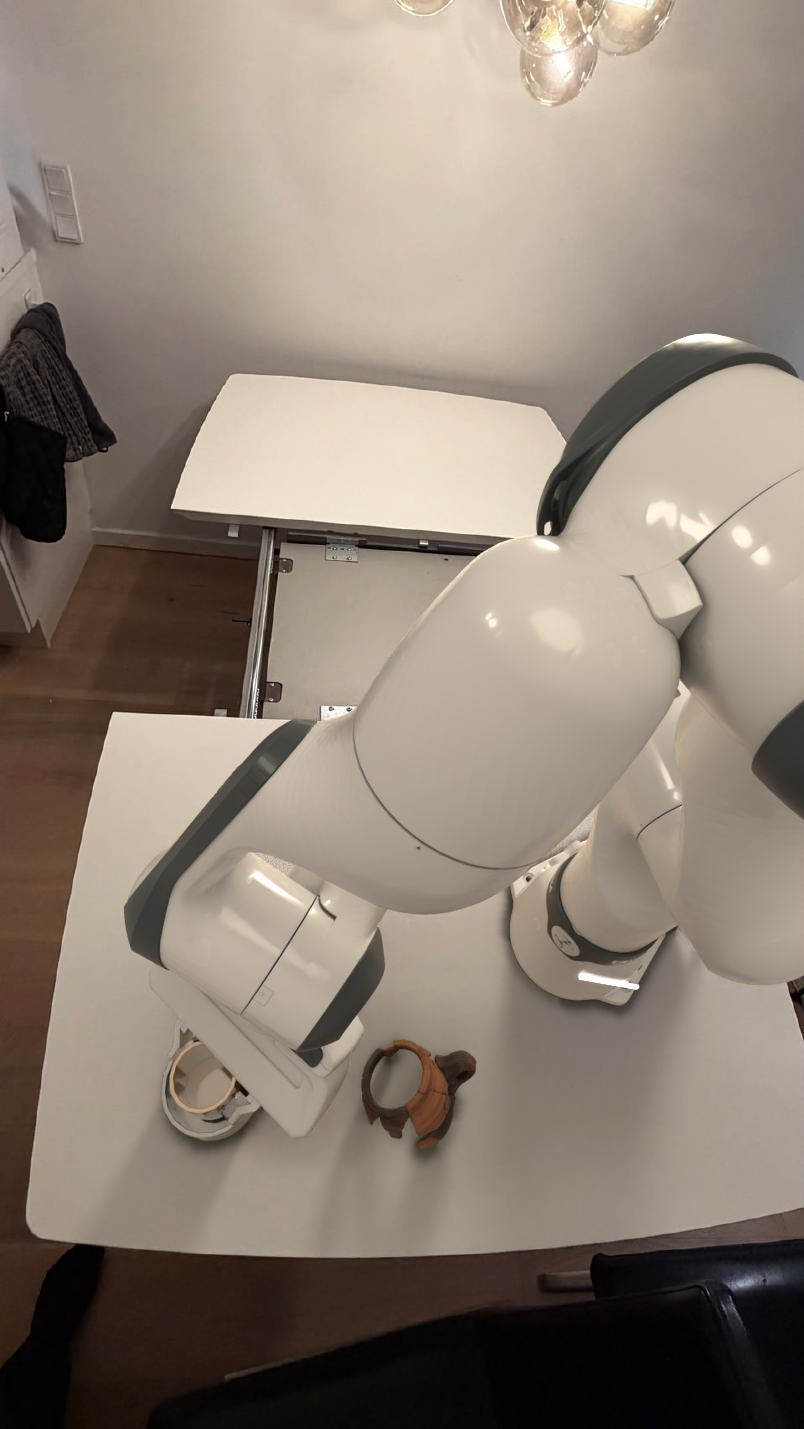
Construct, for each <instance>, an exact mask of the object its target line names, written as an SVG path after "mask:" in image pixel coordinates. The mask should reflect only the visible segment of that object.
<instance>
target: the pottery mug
mask: <svg viewBox="0 0 804 1429" xmlns="http://www.w3.org/2000/svg"><path fill="white" fill-rule="evenodd" d="M401 1050H402V1051H403V1050H404V1051H409V1052H411V1053H412V1054H414V1055H415V1056H416V1057H417V1058H418V1060H419V1061H420V1064H421V1068H422V1069H421V1070H422V1074H421V1080H420V1085H419V1087H418V1089H417V1091H416V1093H415V1094H414V1096H413V1097H412V1098H411V1099H410V1100H409V1101H407V1102H406V1103H405V1104H404V1105H402V1106H399V1107H394V1108H388V1107H384V1106H381V1105H379V1104H378V1103H377V1102H376V1101H375V1099H374V1097H373V1094H372V1090H371V1082H372V1077H373V1074H374V1071H375V1069H376V1067H377V1066H378V1064H379V1063H380V1062H381V1060H382V1059H383V1058H384V1057H386V1058H391V1057H393V1056H394V1055H396V1054H397V1053H398V1052H399V1051H401ZM431 1056H432V1052H431V1051H429V1049H426V1048H425V1047H423V1046H421V1045H419V1044H417V1043H416V1042H414V1041H412V1040H409V1039H406V1038H405V1039H404V1038H403V1039H402V1038H401V1039H394V1040H393V1042H392V1044H390V1045H388V1046H387V1047H385V1048H381V1047H378V1048H376V1049H375V1050H374V1051H373V1053H372V1054H371V1055H370V1056H369V1058H368V1060H367V1061H366V1063H365V1065H364V1067H363V1071H362V1075H361V1078H362V1079H361V1082H360V1083H361V1084H360V1089H361V1100H362V1103H363V1107H364V1111H365V1115H366V1118H367V1121H368V1123H369V1126H372V1125H374V1122H375V1121H376V1120H377V1119H379V1122H380V1125H381V1126H382V1128H383V1129H384V1130H385V1131H386V1132H387V1133H388V1135H389V1136H390V1138H392V1139H398V1140H401V1139H403V1130H404V1128H405V1125H406V1123H407V1121H408V1120H409V1118H410V1120H411V1123H412V1125H413V1128H414V1131H415V1135H418V1136H420V1137H421V1136H423V1137H424V1136H426V1135H427V1134H428V1135H429V1136H428V1137H427V1138H425V1139H422V1140H419V1141H417V1142H416V1145H415V1146H416V1148H417V1149H418V1150H421V1151H426V1150H428V1149H430V1148H432V1147H434V1146H436V1145H437V1144H438V1143H439V1142H440V1141H441V1140H442V1139H443V1138H444V1137H445V1136H446V1134H447V1133H448V1132H449V1129H450V1128H451V1125H452V1122H453V1119H454V1109H455V1104H456V1103H455V1102H456V1093H457V1091H458V1090H459V1089H460V1087H461V1086H462V1085H463V1084H464V1083H466V1082H468V1081H469V1080H470V1079H472V1078H473V1077H474V1076H475V1074H476V1072H477V1059H476V1058H475V1057H474V1055H472V1054H471V1053H470V1052H468V1051H467V1050H463V1049H461V1050H459V1049H458V1050H456V1051H455V1050H454V1051H452V1052H450V1053H448V1054H445V1055H442V1054H436V1055H434V1058H433V1059H432V1058H431Z"/></svg>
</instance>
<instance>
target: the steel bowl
mask: <svg viewBox="0 0 804 1429" xmlns="http://www.w3.org/2000/svg"><path fill="white" fill-rule="evenodd" d="M192 1041H193V1042H197V1041H200V1040H199V1039H198V1038H197V1037H196V1036H195V1035H194V1036H192ZM173 1063H174V1062H173V1061H172V1060H171V1059H170V1058H169V1061H168V1064H167V1065H166V1068H165V1070H164V1072H163V1074H162V1078H161V1079H162V1080H161V1087H160V1098H161V1103H162V1109H163V1112H164V1114H165V1115H166V1117H167V1119H168V1121H169V1122H170V1124H171V1126H173V1127H175V1128H176V1129H177V1131H179V1132H181V1133H182V1134H183V1135H186V1136H188V1137H191V1138H195V1139H197V1140H201V1141H204V1142H209V1141H210V1142H211V1141H212V1142H213V1141H214V1142H215V1141H220V1140H224V1139H226V1138H229V1137H231V1136H232V1135H234V1134H236V1133H237V1132H239V1131H240V1130H241V1129H243V1127H244V1126H245V1125H246V1124H247V1123H248V1122H249V1121H250V1120H251V1118H252V1116H253V1115H254V1113H255V1111H254V1112H249V1113H245V1114H242V1115H241V1116H240V1117H239V1118H238V1119H237V1120H236V1121H235V1122H234V1123H233V1124H232V1125H231V1124H230V1123H229V1122H228V1121H227V1120H226V1119H225V1118H224V1117H221V1118H218V1119H214V1120H204V1119H199V1118H197V1117H196V1116H194V1115H192V1114H190V1113H189V1112H187V1111H186V1110H184V1109H183V1108H181V1107H180V1106H178V1105H177V1104H176V1102H175V1100H174V1098H173V1097H172V1095H171V1093H170V1084H169V1076H170V1073H171V1069H172V1065H173ZM242 1094H243V1095H244V1096H245V1097H247V1096H248V1095H249V1094H250V1093H249V1092H248V1091H247V1090H246V1089H245V1088H244V1087H243V1090H242Z"/></svg>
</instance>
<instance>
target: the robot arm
mask: <svg viewBox="0 0 804 1429" xmlns="http://www.w3.org/2000/svg"><path fill="white" fill-rule="evenodd" d="M548 523H549V527H550V531H549V533H548V534H545V526H546V524H548ZM535 531H536V534H535V535H525V536H519V537H513V538H510V539H507V540H504V541H502V542H499V543H497V544H494V545H493V546H492V547H490V548H488V549H486V550H484V551H483V552H481V553H480V554H478V555H477V556H476V557H475V558H474V559H473V560H471V561H470V562H469V563H468V564H467V565H466V566H465V567H464V568H463V569H462V570H461V571H460V572H459V573H458V574H457V575H456V576H455V577H454V578H453V580H452V581H451V582H450V583H449V584H448V585H447V586H446V587H445V588H444V589H443V590H442V591H441V592H440V593H439V594H438V595H437V596H436V598H435V599H434V600H433V601H432V602H431V603H430V604H429V605H428V606H427V608H426V609H425V610H424V611H423V612H422V613H421V615H420V616H418V618H417V619H416V620H415V621H414V623H413V624H412V625H411V627H410V628H409V629H408V630H407V632H406V633H405V634H404V636H403V637H402V638H401V640H400V641H399V642H398V643H397V645H396V646H395V647H394V649H393V650H392V651H391V653H390V654H389V656H388V657H387V659H386V660H385V662H384V663H383V664H382V666H381V667H380V668H379V670H378V672H377V673H376V675H375V676H374V678H373V680H372V682H371V683H370V685H369V686H368V688H367V689H366V692H365V693H364V694H363V696H362V698H361V700H360V701H359V703H358V704H357V706H356V707H355V708H354V709H353V710H351V711H349V712H347V713H345V714H343V715H339V716H336V717H333V718H329V719H324V720H318V719H310V718H297V717H295V718H293V719H291V720H288V721H286V722H284V723H282V724H281V725H280V726H278V727H277V728H275V729H274V730H273V731H272V732H270V733H269V734H268V735H266V737H265V738H264V739H263V740H261V742H259V744H257V746H255V748H254V749H253V750H252V751H251V752H250V754H249V755H248V756H246V758H244V760H243V762H241V763H240V765H238V766H237V767H235V769H234V770H233V771H232V772H231V774H230V775H229V776H228V777H227V779H226V780H225V781H224V782H223V784H221V785H220V787H219V788H217V790H216V792H215V793H214V794H213V796H212V797H211V798H210V799H209V800H208V801H207V803H206V804H205V805H204V806H203V808H202V809H201V810H200V811H199V812H198V814H197V815H196V816H195V817H194V818H193V820H191V822H190V823H189V825H188V826H187V827H186V828H185V830H184V831H183V832H182V833H181V834H180V835H179V836H178V837H176V838H174V839H173V840H171V841H170V842H168V844H166V845H165V846H164V847H163V848H161V849H160V850H159V851H158V852H157V853H156V854H155V855H154V856H153V857H152V859H150V861H149V862H148V863H147V864H146V865H145V867H144V868H143V869H142V870H141V872H140V874H139V875H138V876H137V878H136V880H135V881H134V882H133V885H132V886H131V889H130V892H129V894H128V897H127V900H126V902H125V904H124V906H123V917H124V926H125V931H126V937H127V941H128V944H129V948H130V950H131V951H132V952H133V953H135V954H137V955H139V956H141V958H142V957H143V958H144V959H146V960H148V961H149V962H152V963H153V964H154V965H153V966H152V968H151V969H150V971H149V973H148V984H149V989H151V991H152V992H153V993H154V994H155V995H156V996H157V998H158V999H160V1000H161V1001H162V1003H164V1005H165V1006H166V1007H167V1008H168V1009H169V1010H170V1011H171V1012H172V1013H173V1014H174V1015H175V1016H176V1017H177V1018H176V1020H174V1023H173V1043H174V1044H173V1046H172V1047H171V1049H170V1050H169V1052H168V1053H167V1057H168V1058H169V1060H170V1059H171V1060H172V1061H173V1062H174V1061H175V1060H176V1058H177V1057H178V1056H179V1054H180V1053H181V1051H183V1050H184V1049H185V1048H186V1047H188V1046H189V1045H190V1044H192V1043H194V1042H193V1041H192V1037H194V1036H196V1037H197V1038H198V1039H199V1040H200V1041H201V1042H202V1044H203V1045H204V1046H205V1047H206V1048H207V1049H208V1050H209V1051H210V1052H211V1053H212V1054H213V1055H214V1056H215V1057H216V1058H217V1059H218V1060H219V1062H220V1063H221V1064H222V1065H223V1066H224V1067H225V1068H226V1069H227V1070H228V1071H229V1072H230V1073H231V1074H232V1075H233V1076H234V1077H235V1078H236V1080H237V1081H238V1082H239V1083H240V1084H241V1085H242V1086H243V1087H244V1088H245V1089H246V1090H247V1091H248V1092H249V1093H250V1094H249V1095H248V1096H247V1097H245V1096H244V1095H243V1094H242V1093H241V1092H240V1091H239V1092H238V1093H237V1094H236V1095H235V1096H234V1098H232V1099H231V1100H230V1101H229V1102H228V1103H227V1104H226V1106H225V1108H224V1109H223V1110H222V1111H221V1114H222V1115H223V1117H224V1118H225V1119H226V1120H227V1121H228V1122H229V1123H230V1124H231V1125H232V1124H233V1123H234V1122H235V1121H236V1120H237V1119H238V1118H239V1117H240V1116H241V1115H242V1114H245V1113H249V1112H254V1113H255V1112H257V1111H258V1110H259V1109H260V1108H261V1107H262V1108H263V1110H265V1112H266V1113H267V1114H268V1115H269V1116H270V1117H271V1118H272V1119H273V1120H274V1121H275V1122H276V1123H277V1124H278V1125H279V1126H280V1127H281V1129H282V1130H283V1131H284V1132H285V1133H286V1134H287V1135H288V1136H289V1137H290V1138H291V1139H305V1138H307V1137H308V1136H309V1135H310V1133H311V1132H312V1131H313V1130H314V1128H316V1126H317V1125H318V1123H319V1122H320V1121H321V1119H322V1118H323V1117H324V1115H325V1114H326V1113H327V1111H328V1110H329V1108H330V1106H332V1104H333V1102H334V1100H335V1098H336V1097H337V1095H338V1093H339V1091H340V1090H341V1088H342V1086H343V1083H344V1082H345V1079H346V1077H347V1075H348V1072H349V1068H350V1061H351V1060H350V1055H351V1054H352V1053H353V1052H354V1051H355V1049H356V1047H357V1046H358V1044H359V1042H360V1041H361V1039H362V1037H363V1035H364V1032H365V1028H364V1025H363V1023H362V1021H361V1019H360V1017H359V1016H358V1015H359V1013H360V1012H361V1011H362V1009H363V1008H364V1007H365V1005H366V1004H367V1003H368V1001H369V1000H370V998H371V997H372V996H373V994H374V993H375V992H376V990H377V988H378V987H379V985H380V983H381V981H382V979H383V977H384V973H385V970H386V960H385V952H384V944H383V942H384V941H383V937H382V936H383V935H382V932H381V929H380V927H378V926H379V924H380V923H381V921H382V919H383V918H384V916H385V914H386V912H388V910H389V911H393V912H397V913H401V914H408V915H417V916H418V915H421V916H429V915H441V914H447V913H452V912H457V911H460V910H463V909H466V908H469V907H472V906H475V905H478V904H480V903H482V902H484V901H486V900H489V899H491V898H492V897H494V896H496V895H497V894H499V893H501V892H503V891H504V890H505V889H507V888H509V887H510V893H511V898H512V910H511V916H510V921H509V939H510V943H511V944H510V945H511V947H512V950H513V953H514V955H515V958H516V960H517V962H518V964H519V965H520V967H521V969H522V970H523V972H524V973H525V974H526V975H527V977H529V979H530V980H531V981H532V982H533V983H534V984H536V985H537V986H538V987H539V988H541V989H542V990H544V991H545V992H547V993H549V994H551V995H553V996H555V997H558V998H561V999H565V1000H570V1001H587V1000H589V1001H590V1000H596V1001H597V1000H598V1001H601V1002H603V1003H606V1004H609V1005H612V1006H624V1005H625V1004H626V1003H627V1002H628V1001H629V1000H630V999H631V997H632V995H633V993H634V991H635V990H638V989H639V988H640V985H639V982H640V981H641V979H642V977H643V975H644V974H645V972H646V970H647V969H648V967H649V965H650V963H651V962H652V960H653V958H654V957H655V954H656V952H657V951H658V949H659V948H660V946H661V944H662V942H663V941H664V939H665V937H666V936H669V935H671V934H672V933H674V932H675V931H677V930H678V929H679V931H680V933H681V934H682V935H683V937H684V938H685V940H686V941H687V942H688V944H689V946H690V947H691V948H692V950H693V951H694V953H695V954H696V955H697V957H698V958H699V960H700V961H701V962H702V964H703V966H705V968H706V969H707V971H709V972H710V973H712V974H714V975H715V976H717V977H719V978H722V979H725V980H727V981H730V982H733V983H737V984H741V985H747V986H756V987H757V986H758V987H761V986H762V987H764V986H765V987H766V986H768V987H769V986H776V985H783V984H785V983H786V984H787V983H788V982H792V981H794V980H797V979H799V978H801V977H804V380H802V379H800V377H799V375H798V373H797V370H796V369H795V368H794V367H793V365H792V364H791V363H790V362H789V361H787V360H785V359H784V358H783V357H781V356H779V355H777V354H775V353H773V352H771V351H768V350H766V349H764V348H761V347H759V346H756V345H754V344H752V343H749V342H746V341H743V340H741V339H737V338H734V337H730V336H725V335H719V334H713V333H700V334H693V335H688V336H686V337H683V338H680V339H677V340H675V341H672V342H670V343H669V344H666V345H665V346H663V347H661V348H660V349H658V350H656V351H654V352H652V353H651V354H649V355H647V356H646V357H643V358H642V359H641V360H639V361H637V362H636V363H634V364H633V365H631V366H630V367H629V368H627V369H626V370H625V371H624V372H622V373H621V374H619V376H617V377H616V378H615V379H614V380H613V381H612V382H611V383H610V384H609V385H608V386H607V387H606V388H605V389H604V390H603V391H602V392H601V394H600V395H599V396H598V398H596V400H595V401H594V403H593V404H592V405H591V407H589V409H588V411H587V412H586V413H585V414H584V416H583V418H582V419H581V420H580V422H579V423H578V425H577V427H576V428H575V429H574V431H573V432H572V434H571V436H570V437H569V438H568V441H567V442H566V443H565V445H564V448H563V451H562V453H561V455H560V458H559V461H558V463H557V464H556V465H555V467H554V468H553V469H552V471H551V472H550V474H549V476H548V478H547V480H546V482H545V485H544V487H543V489H542V492H541V495H540V499H539V502H538V506H537V511H536V519H535ZM594 809H595V810H594ZM593 811H594V815H593V821H592V826H591V830H590V833H589V835H588V838H587V839H586V840H583V841H580V840H575V841H573V842H571V843H570V844H568V845H567V846H566V847H565V848H564V849H563V851H562V852H559V853H558V854H556V855H554V856H552V857H550V858H548V859H546V860H543V859H544V858H545V857H546V856H547V855H548V854H550V852H552V851H553V850H554V849H555V848H557V846H558V845H559V844H561V843H562V842H563V841H564V840H565V839H566V838H567V837H569V835H570V834H571V833H573V832H574V831H575V830H576V828H577V827H578V826H579V825H580V824H581V823H582V822H583V821H584V820H585V819H587V817H588V816H589V815H590V814H591V813H592V812H593ZM256 853H257V854H261V855H266V856H270V857H272V858H275V859H278V860H281V861H284V862H286V863H288V864H291V865H292V866H291V868H290V869H289V871H288V872H287V874H285V873H283V872H282V871H281V870H279V869H278V868H276V867H274V866H273V865H271V864H270V863H268V862H267V861H265V859H263V858H261V857H260V856H259V855H257V854H256ZM541 860H543V861H542V862H540V861H541ZM539 862H540V863H539ZM527 879H528V880H529V881H527ZM193 1035H194V1036H193Z"/></svg>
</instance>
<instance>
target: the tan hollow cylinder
mask: <svg viewBox="0 0 804 1429" xmlns="http://www.w3.org/2000/svg"><path fill="white" fill-rule="evenodd" d="M169 1084H170V1093H171V1095H172V1097H173V1098H174V1100H175V1102H176V1104H177V1105H178V1106H180V1107H181V1108H183V1109H184V1110H186V1111H187V1112H189V1113H190V1114H192V1115H194V1116H196V1117H197V1118H199V1119H204V1120H214V1119H218V1118H221V1117H223V1115H222V1114H221V1111H222V1110H223V1109H224V1108H225V1106H226V1104H227V1103H228V1102H229V1101H230V1100H231V1099H232V1098H234V1096H235V1095H236V1094H237V1093H238V1092H239V1091H240V1092H241V1093H242V1090H243V1086H242V1085H241V1084H240V1083H239V1082H238V1081H237V1080H236V1078H235V1077H234V1076H233V1075H232V1074H231V1073H230V1072H229V1071H228V1070H227V1069H226V1068H225V1067H224V1066H223V1065H222V1064H221V1063H220V1062H219V1060H218V1059H217V1058H216V1057H215V1056H214V1055H213V1054H212V1053H211V1052H210V1051H209V1050H208V1049H207V1048H206V1047H205V1046H204V1045H203V1044H202V1042H201V1041H197V1042H194V1043H192V1044H190V1045H189V1046H188V1047H186V1048H185V1049H184V1050H183V1051H181V1053H180V1054H179V1056H178V1057H177V1058H176V1060H175V1061H174V1063H173V1065H172V1069H171V1073H170V1076H169Z"/></svg>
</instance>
